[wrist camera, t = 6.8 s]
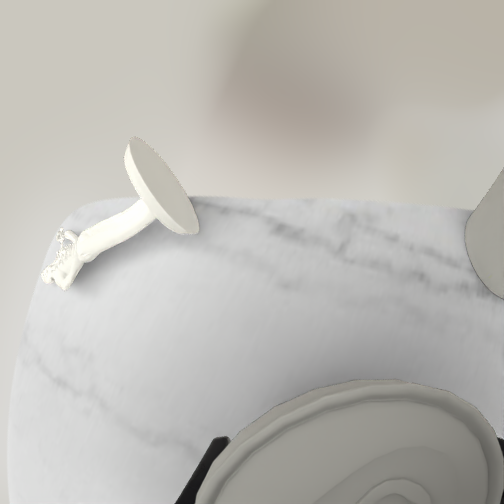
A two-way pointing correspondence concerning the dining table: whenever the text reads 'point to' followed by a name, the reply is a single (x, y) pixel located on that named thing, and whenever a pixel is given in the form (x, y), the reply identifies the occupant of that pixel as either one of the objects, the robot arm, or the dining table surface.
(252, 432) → the beverage can
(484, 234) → the cup
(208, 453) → the robot arm
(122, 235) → the figurine
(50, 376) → the dining table surface
